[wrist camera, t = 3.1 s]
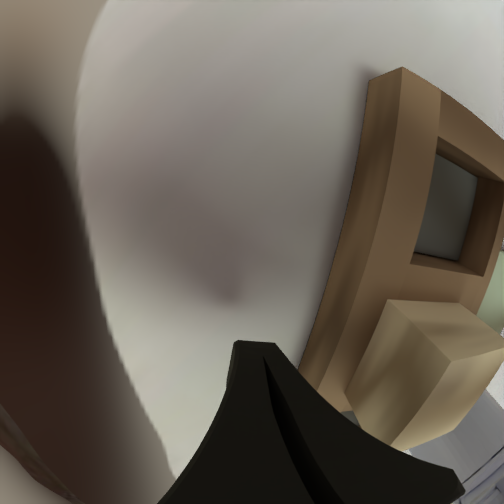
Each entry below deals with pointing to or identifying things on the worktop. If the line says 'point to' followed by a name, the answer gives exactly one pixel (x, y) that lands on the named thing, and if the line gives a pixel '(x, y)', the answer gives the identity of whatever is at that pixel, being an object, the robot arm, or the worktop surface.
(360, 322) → the tray
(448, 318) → the birch block
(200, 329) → the worktop surface
